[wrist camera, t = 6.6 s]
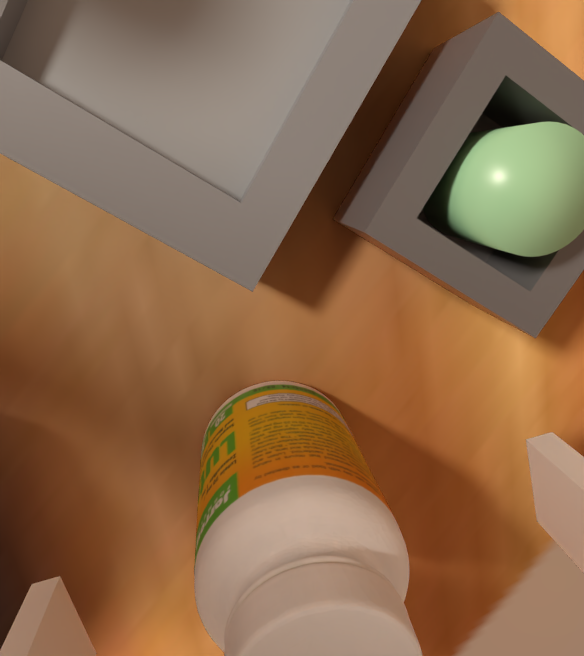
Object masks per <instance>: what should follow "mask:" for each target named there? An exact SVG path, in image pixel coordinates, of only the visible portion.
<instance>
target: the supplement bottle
mask: <svg viewBox="0 0 584 656" xmlns="http://www.w3.org/2000/svg"><path fill="white" fill-rule="evenodd" d="M197 513H198V514H197V531H196V550H195V566H194V576H195V599H196V604H197V609H198V613H199V616H200V618H201V621H202V623H203V625H204V627H205V629H206V631H207V632H208V634H209V635H210V637H211V638H212V640H213V641H214V642H215V643H216V644H217V645H218V647H219V648H220V649H221V650H222V651H223V652H224V656H423V655H422V651H421V648H420V644H419V642H418V639H417V637H416V634H415V631H414V629H413V626H412V624H411V621H410V619H409V616H408V612H407V609H406V607H405V604H404V601H405V597H406V593H407V589H408V584H409V557H408V552H407V548H406V544H405V541H404V539H403V536H402V533H401V531H400V529H399V526H398V524H397V522H396V520H395V518H394V516H393V514H392V511H391V509H390V507H389V506H388V504H387V502H386V500H385V498H384V496H383V494H382V492H381V490H380V488H379V487H378V485H377V483H376V481H375V479H374V477H373V475H372V473H371V471H370V469H369V467H368V465H367V463H366V461H365V459H364V457H363V455H362V453H361V451H360V450H359V447H358V445H357V443H356V441H355V439H354V438H353V435H352V433H351V431H350V429H349V427H348V425H347V423H346V422H345V420H344V418H343V416H342V415H341V413H340V411H339V410H338V408H337V407H336V406H335V405H334V403H333V402H332V401H331V400H329V399H328V398H327V397H326V396H325V395H324V394H322V393H321V392H319V391H317V390H316V389H314V388H311V387H309V386H307V385H303V384H300V383H296V382H291V381H268V382H263V383H259V384H255V385H252V386H250V387H247V388H245V389H243V390H241V391H239V392H237V393H236V394H234V395H233V396H231V397H230V398H229V399H227V400H226V401H225V402H224V403H223V404H222V405H221V406H220V407H219V409H218V410H217V411H216V412H215V414H214V415H213V417H212V418H211V420H210V422H209V424H208V426H207V429H206V431H205V434H204V438H203V443H202V450H201V463H200V480H199V497H198V509H197Z"/></svg>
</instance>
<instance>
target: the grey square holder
mask: <svg viewBox="0 0 584 656" xmlns="http://www.w3.org/2000/svg"><path fill="white" fill-rule="evenodd" d="M539 122H559V123H563V124H566V125H569V126H571V127H573V128H575V129H576V130H578V131H579V132H581V133H582V134H583V135H584V81H583V80H582V79H581V78H580V77H579V76H577V75H576V74H575V73H574V72H572V71H571V70H570V69H569V68H567V67H566V66H565V65H564V64H562V63H561V62H560V61H559V60H558V59H556V58H555V57H554V56H553V55H551V54H550V53H549V52H548V51H546V50H545V49H544V48H543V47H541V46H540V45H539V44H538V43H537V42H535V41H534V40H533V39H532V38H530V37H529V36H528V35H527V34H525V33H524V32H523V31H522V30H521V29H519V28H518V27H517V26H516V25H514V24H513V23H512V22H511V21H509V20H508V19H507V18H506V17H504V16H503V15H502V14H501V13H500V12H497V13H496V14H494V15H492V16H490V17H489V18H487V19H485V20H483V21H482V22H480V23H478V24H476V25H474V26H473V27H471V28H469V29H467V30H466V31H464V32H462V33H460V34H459V35H457V36H455V37H453V38H451V39H450V40H448V41H446V42H444V43H443V44H441V45H439V46H437V47H436V48H434V49H433V51H432V52H431V54H430V56H429V57H428V59H427V61H426V63H425V64H424V66H423V68H422V69H421V71H420V73H419V74H418V76H417V78H416V79H415V81H414V83H413V84H412V86H411V88H410V89H409V91H408V93H407V95H406V96H405V98H404V100H403V101H402V103H401V105H400V106H399V108H398V110H397V111H396V113H395V115H394V116H393V118H392V120H391V122H390V123H389V125H388V127H387V128H386V130H385V132H384V133H383V135H382V137H381V138H380V140H379V142H378V143H377V145H376V147H375V148H374V150H373V152H372V154H371V155H370V157H369V159H368V160H367V162H366V164H365V165H364V167H363V169H362V170H361V172H360V174H359V175H358V177H357V179H356V181H355V182H354V184H353V186H352V187H351V189H350V191H349V192H348V194H347V196H346V197H345V199H344V201H343V202H342V204H341V206H340V207H339V209H338V211H337V213H336V214H335V216H334V218H333V220H335V221H336V222H338V223H340V224H341V225H343V226H345V227H346V228H348V229H349V230H351V231H353V232H354V233H356V234H358V235H359V236H361V237H362V238H364V239H366V240H367V241H369V242H371V243H372V244H374V245H376V246H377V247H379V248H380V249H382V250H384V251H385V252H387V253H389V254H390V255H392V256H393V257H395V258H397V259H398V260H400V261H402V262H403V263H405V264H406V265H408V266H410V267H411V268H413V269H415V270H416V271H418V272H419V273H421V274H423V275H424V276H426V277H428V278H429V279H431V280H432V281H434V282H436V283H437V284H439V285H441V286H442V287H444V288H445V289H447V290H449V291H450V292H452V293H454V294H455V295H457V296H458V297H460V298H462V299H463V300H465V301H467V302H468V303H470V304H471V305H473V306H475V307H477V308H479V309H481V310H483V311H485V312H487V313H488V314H490V315H492V316H494V317H496V318H498V319H500V320H502V321H504V322H506V323H508V324H509V325H511V326H513V327H515V328H517V329H519V330H521V331H523V332H525V333H527V334H528V335H530V336H532V337H534V338H536V337H537V336H538V334H539V333H540V331H541V330H542V329H543V327H544V326H545V324H546V323H547V321H548V320H549V319H550V317H551V316H552V314H553V313H554V311H555V310H556V309H557V307H558V306H559V304H560V303H561V301H562V300H563V299H564V297H565V296H566V294H567V293H568V291H569V290H570V289H571V287H572V286H573V284H574V283H575V281H576V280H577V279H578V277H579V276H580V274H581V273H582V271H583V270H584V230H583V231H582V232H581V233H580V234H579V235H578V236H577V237H576V238H575V239H574V240H573V241H572V242H571V243H569V244H568V245H566V246H565V247H563V248H562V249H560V250H558V251H556V252H553V253H550V254H547V255H543V256H536V257H526V256H520V255H516V254H512V253H508V252H505V251H501V250H498V249H494V248H491V247H487V246H483V245H480V244H476V243H473V242H469V241H466V240H462V239H459V238H455V237H451V236H448V235H446V234H444V233H442V232H440V231H439V230H437V229H436V228H435V227H434V226H433V225H432V224H431V223H430V222H429V221H428V219H427V218H426V216H425V214H424V212H423V210H422V209H423V207H424V205H425V204H426V202H427V201H428V199H429V197H430V196H431V194H432V193H433V191H434V189H435V188H436V186H437V185H438V183H439V181H440V180H441V178H442V177H443V175H444V173H445V172H446V170H447V169H448V167H449V165H450V164H451V162H452V161H453V159H454V157H455V156H456V154H457V153H458V151H459V149H460V148H461V146H462V145H463V143H464V141H465V140H466V138H467V137H468V135H469V133H472V132H479V131H485V130H492V129H499V128H505V127H512V126H519V125H525V124H532V123H539Z"/></svg>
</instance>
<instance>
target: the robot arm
mask: <svg viewBox="0 0 584 656" xmlns="http://www.w3.org/2000/svg"><path fill="white" fill-rule="evenodd" d="M526 444H527V451H528V459H529V466H530V474H531V481H532V489H533V496H534V504H535V511H536V519H537V522H538V523H539V524H540V525H541V526H542V527H543V529H544V530H545V531H546V532H547V533H548V534H549V535H550V536H551V537H552V539H553V540H554V541H555V542H556V543H557V544H558V545H559V546H560V548H561V549H562V550H563V551H564V552H565V553H566V554H567V555H568V556H569V558H570V559H571V560H572V561H573V562H574V563H575V564H576V565H577V566H578V568H579V569H580V570H581V571H582V572H583V573H584V457H583V456H582V455H581V454H579V453H578V452H577V451H576V450H574V449H573V448H572V447H571V446H569V445H568V444H567V443H565V442H564V441H563V440H562V439H560V438H559V437H558V436H557V435H555V434H554V433H553V432H550V433H547V434H543V435H540V436H536V437H533V438H530V439H526ZM0 656H96V651H95V649H94V647H93V645H92V643H91V641H90V639H89V636H88V634H87V632H86V630H85V628H84V626H83V624H82V622H81V619H80V617H79V615H78V613H77V611H76V609H75V607H74V605H73V603H72V600H71V598H70V596H69V594H68V592H67V590H66V588H65V586H64V583H63V581H62V579H61V577H60V576H58V577H55V578H51V579H48V580H44V581H41V582H38V583H34V584H32V585H31V587H30V589H29V591H28V593H27V595H26V597H25V599H24V601H23V604H22V606H21V608H20V610H19V612H18V614H17V616H16V618H15V620H14V622H13V625H12V627H11V629H10V631H9V633H8V635H7V637H6V639H5V641H4V643H3V646H2V648H1V650H0Z"/></svg>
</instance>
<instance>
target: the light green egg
mask: <svg viewBox="0 0 584 656" xmlns="http://www.w3.org/2000/svg"><path fill="white" fill-rule="evenodd" d="M422 210H423V212H424V214H425V216H426V218H427V219H428V221H429V222H430V223H431V224H432V225H433V226H434V227H435V228H436V229H437V230H439V231H440V232H442V233H444V234H446V235H448V236H451V237H455V238H459V239H462V240H466V241H469V242H473V243H476V244H480V245H483V246H487V247H491V248H494V249H498V250H501V251H505V252H508V253H512V254H516V255H520V256H526V257H536V256H543V255H547V254H550V253H553V252H556V251H558V250H560V249H562V248H563V247H565V246H566V245H568V244H569V243H571V242H572V241H573V240H574V239H575V238H576V237H577V236H578V235H579V234H580V233H581V232H582V231H583V230H584V135H583V134H582V133H581V132H579V131H578V130H576V129H575V128H573V127H571V126H569V125H566V124H563V123H559V122H539V123H532V124H525V125H519V126H512V127H505V128H499V129H492V130H485V131H479V132H472V133H469V135H468V137H467V138H466V140H465V141H464V143H463V145H462V146H461V148H460V149H459V151H458V153H457V154H456V156H455V157H454V159H453V161H452V162H451V164H450V165H449V167H448V169H447V170H446V172H445V173H444V175H443V177H442V178H441V180H440V181H439V183H438V185H437V186H436V188H435V189H434V191H433V193H432V194H431V196H430V197H429V199H428V201H427V202H426V204H425V205H424V207H423V209H422Z"/></svg>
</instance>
